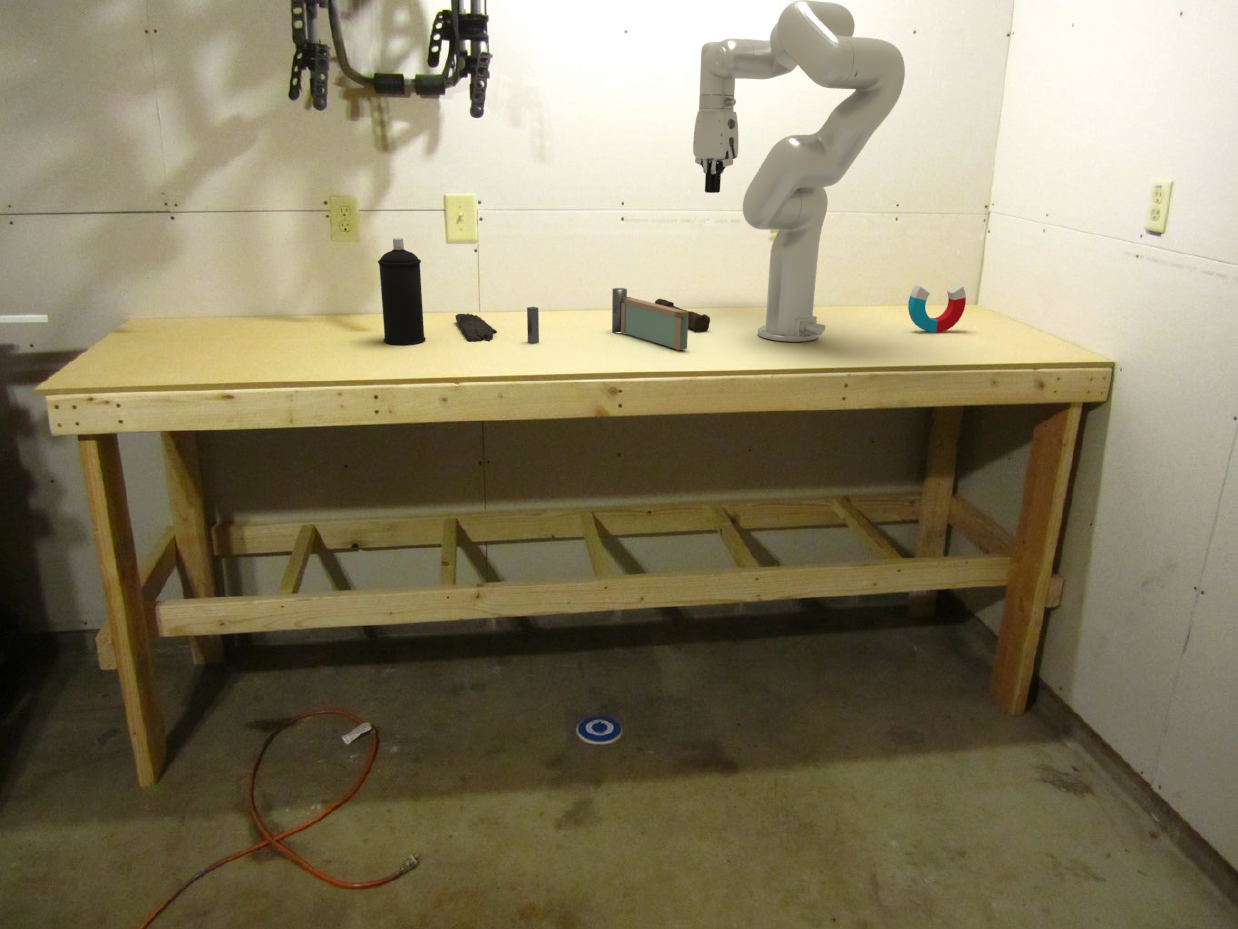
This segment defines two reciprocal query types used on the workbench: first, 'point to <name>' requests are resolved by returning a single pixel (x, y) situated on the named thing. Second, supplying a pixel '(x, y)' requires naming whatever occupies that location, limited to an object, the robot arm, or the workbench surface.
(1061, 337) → the workbench surface
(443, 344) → the workbench surface
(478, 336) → the wood
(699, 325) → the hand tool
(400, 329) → the aerosol can
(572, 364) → the workbench surface
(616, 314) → the gate posts
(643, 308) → the gate
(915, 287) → the magnet
